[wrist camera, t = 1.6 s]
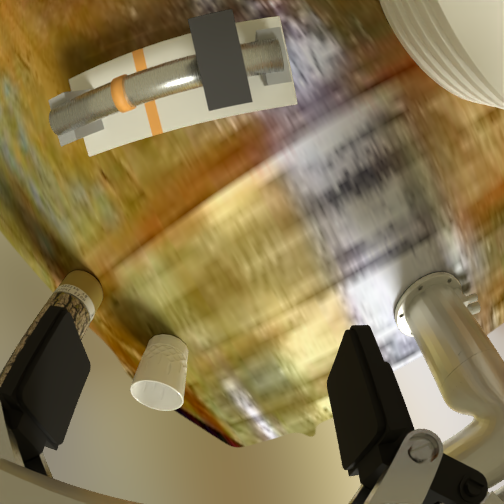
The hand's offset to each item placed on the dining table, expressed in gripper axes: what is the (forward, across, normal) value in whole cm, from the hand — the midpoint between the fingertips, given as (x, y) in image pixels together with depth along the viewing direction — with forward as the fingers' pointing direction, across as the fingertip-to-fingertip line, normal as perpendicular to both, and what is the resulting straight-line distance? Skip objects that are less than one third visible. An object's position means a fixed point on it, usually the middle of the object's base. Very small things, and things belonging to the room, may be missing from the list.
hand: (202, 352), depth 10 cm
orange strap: (+26, +10, -8) cm, 29 cm away
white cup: (+28, +10, +31) cm, 43 cm away
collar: (+23, +1, -10) cm, 25 cm away
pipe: (+21, +7, -8) cm, 24 cm away
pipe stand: (+28, +7, -8) cm, 30 cm away
